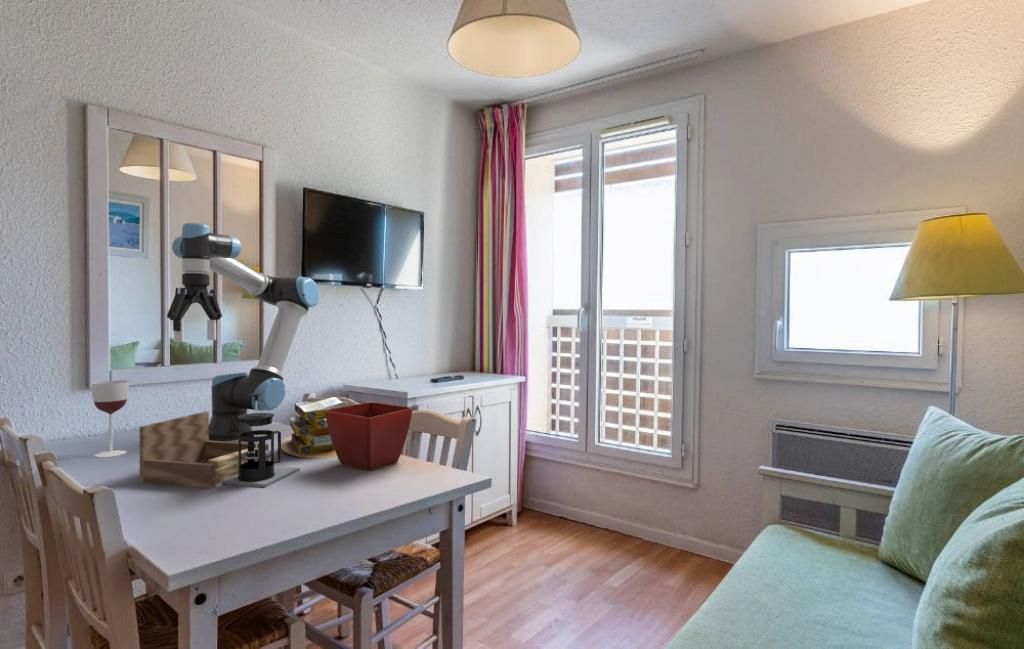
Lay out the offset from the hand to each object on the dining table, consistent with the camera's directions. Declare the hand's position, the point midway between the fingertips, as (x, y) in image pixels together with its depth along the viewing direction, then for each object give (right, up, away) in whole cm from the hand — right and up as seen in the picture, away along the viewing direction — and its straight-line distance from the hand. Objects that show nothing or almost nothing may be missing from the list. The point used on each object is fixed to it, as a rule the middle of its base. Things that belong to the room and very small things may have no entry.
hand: (196, 340), depth 176 cm
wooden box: (+13, -37, -16) cm, 42 cm away
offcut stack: (+21, -38, -18) cm, 47 cm away
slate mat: (+30, -38, -20) cm, 52 cm away
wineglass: (-29, -37, +4) cm, 47 cm away
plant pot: (+56, -38, -4) cm, 67 cm away
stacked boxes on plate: (+35, -37, +13) cm, 53 cm away
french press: (+30, -37, -22) cm, 52 cm away
